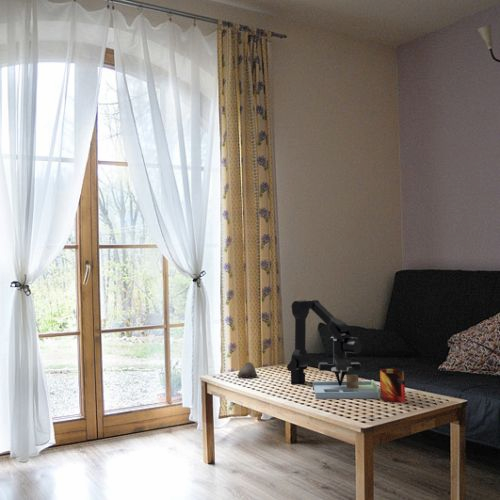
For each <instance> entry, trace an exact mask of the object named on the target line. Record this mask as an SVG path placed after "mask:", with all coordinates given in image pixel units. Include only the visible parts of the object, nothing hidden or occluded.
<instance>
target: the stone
mask: <svg viewBox="0 0 500 500" xmlns="http://www.w3.org/2000/svg"><path fill="white" fill-rule="evenodd" d="M257 376H258V373H257V370H256V368H255V366H254V364H253V363H252V362H246V363H245V364H243V365H242V366H241V368H239V371H238V372H237V378H239V379H243V378H249V377H250V378H257Z"/></svg>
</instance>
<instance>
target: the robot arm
mask: <svg viewBox="0 0 500 500" xmlns="http://www.w3.org/2000/svg"><path fill="white" fill-rule="evenodd" d="M310 310H312V312H314V313H315V315H317V317H319V319H321V321H323V322H324V323H325V325H327V329H328V331H329V333H330V334H331V337H329V339H328V340H329V341H332V356H333V358H332V359H333V360H332V363H331V364H329V363H328V362H327V361H326V362H320V361H319V363H318V370H319V371H320V372H323V371H325V372H326V371H328V370H329V369H330V371H331V373H334V375H335V377H336V380H337V381H338V384H339V386H341V384H342V381H344V378H345V376H346V375H347V374H348V373H349V372H350V371H349V369H352V370H353V371H354V372H355V371H357V372H359V371H362V369H363V367H362V364H361V363H360V362H359V361H355V362H354V361H352V359H351V358H347V353H352V354H360V353H361V351H362V343H361V340H359V337H354V336H353V335H352V332H351V331H350V329H349V326H348V324H347V323H346V322H344V321H343V320H341V319H339V318H337V317H335V316H334V315H333V314H332V313H331V312H329V310H328V309H327V308H326V307H325V306H323V304H321V302H320V301H319V300H318V299H309V300H305V299H303V300H302V299H301V300H294V301H293V302H292V303H291V311H292V312H291V313H292V316H293V318H294V322H295V323H294V325H295V326H294V328H295V329H294V333H295V334H294V350H293V352H292V354H291V360H290V362H289V363H288V364H287V365H286V368H287V371H289V372H290V384H291V385H305V383H306V372H305V370H307V369H308V366H309V363H310V362H311V358H310V357H311V356H310V355H311V353H310V352H308V351H307V349H306V332H307V331H306V330H307V329H306V326H307V325H306V324H307V322H306V320H307V317H308V316H309V314H310Z"/></svg>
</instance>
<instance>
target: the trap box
mask: <svg viewBox="0 0 500 500" xmlns="http://www.w3.org/2000/svg"><path fill="white" fill-rule="evenodd" d="M358 387H359V388H347V380H343V381H342V384H341V386H339V384H338V381H336V380H335V381H334V380H333V381H327V380H326V381H324V380H323V381H312V390H313V391H314V394H315V395H314V396H315V397H314V398H315V399H325V400H326V399H329V400H330V399H331V400H332V399H333V400H334V399H381V395H380V386H379V385H378V384H377V383H376V381H375V380H374V379H371V380H358Z"/></svg>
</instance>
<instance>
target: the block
mask: <svg viewBox="0 0 500 500" xmlns="http://www.w3.org/2000/svg"><path fill="white" fill-rule="evenodd" d="M345 376H346V377H345V378H346V379H345V381H347V388H359V387H358V381H359V375H358V374H345Z"/></svg>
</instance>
